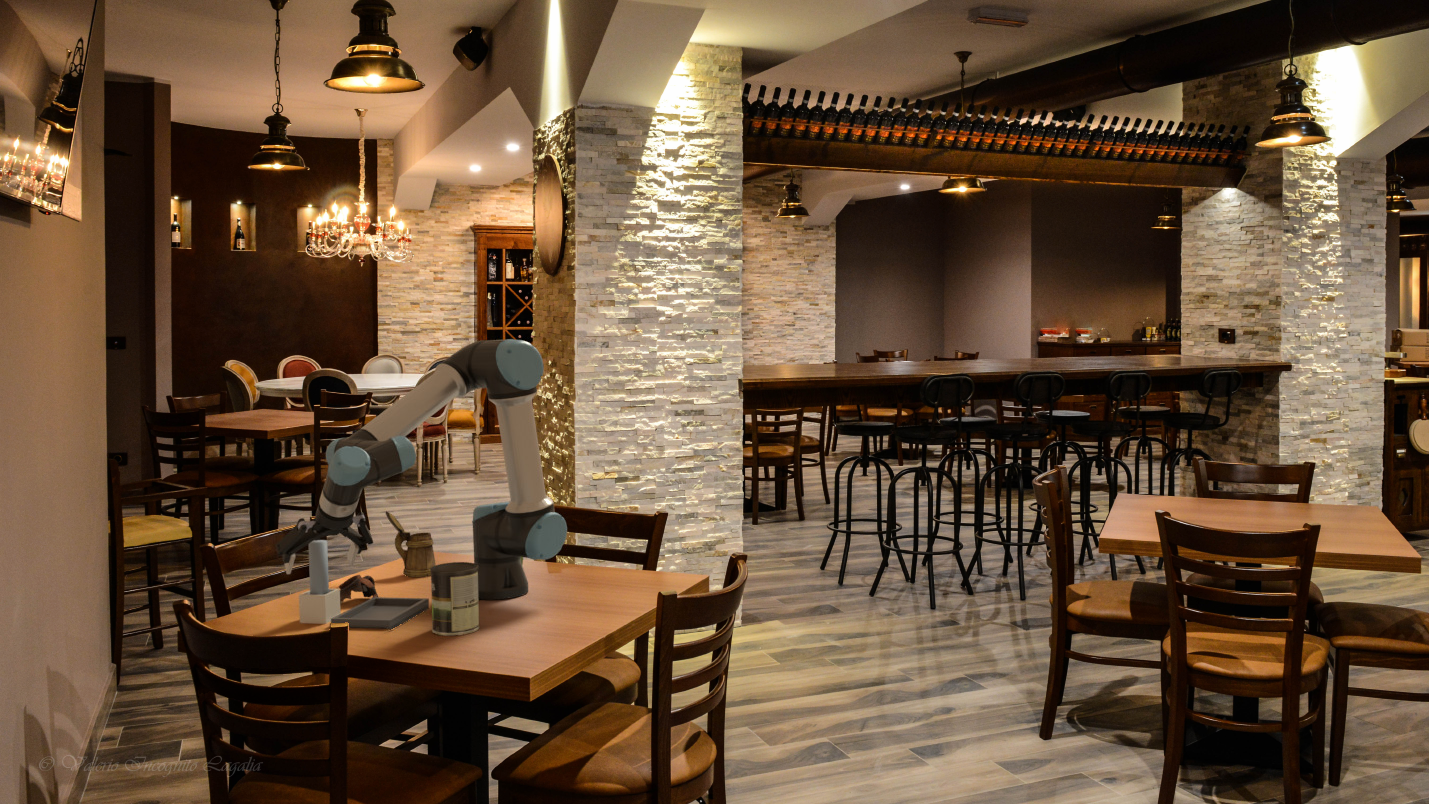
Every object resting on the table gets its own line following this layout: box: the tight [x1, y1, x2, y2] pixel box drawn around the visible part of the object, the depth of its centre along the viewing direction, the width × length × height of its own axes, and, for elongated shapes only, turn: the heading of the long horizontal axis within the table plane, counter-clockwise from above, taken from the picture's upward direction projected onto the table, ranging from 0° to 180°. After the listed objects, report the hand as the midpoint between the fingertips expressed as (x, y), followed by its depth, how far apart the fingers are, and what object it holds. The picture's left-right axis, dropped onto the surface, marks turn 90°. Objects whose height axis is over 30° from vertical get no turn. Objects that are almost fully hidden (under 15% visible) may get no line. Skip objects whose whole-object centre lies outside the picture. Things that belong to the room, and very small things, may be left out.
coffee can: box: [430, 561, 480, 637], centre depth 226 cm, size 10×10×14 cm
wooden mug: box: [385, 511, 437, 578], centre depth 284 cm, size 9×14×18 cm, turn 99°
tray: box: [330, 596, 430, 630], centre depth 237 cm, size 14×20×2 cm
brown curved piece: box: [336, 574, 379, 603], centre depth 252 cm, size 12×10×8 cm
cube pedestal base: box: [298, 588, 341, 625], centre depth 235 cm, size 6×6×7 cm
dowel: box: [308, 539, 330, 595], centre depth 234 cm, size 4×4×18 cm
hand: (319, 565), depth 229 cm, fingers open, 13 cm apart
